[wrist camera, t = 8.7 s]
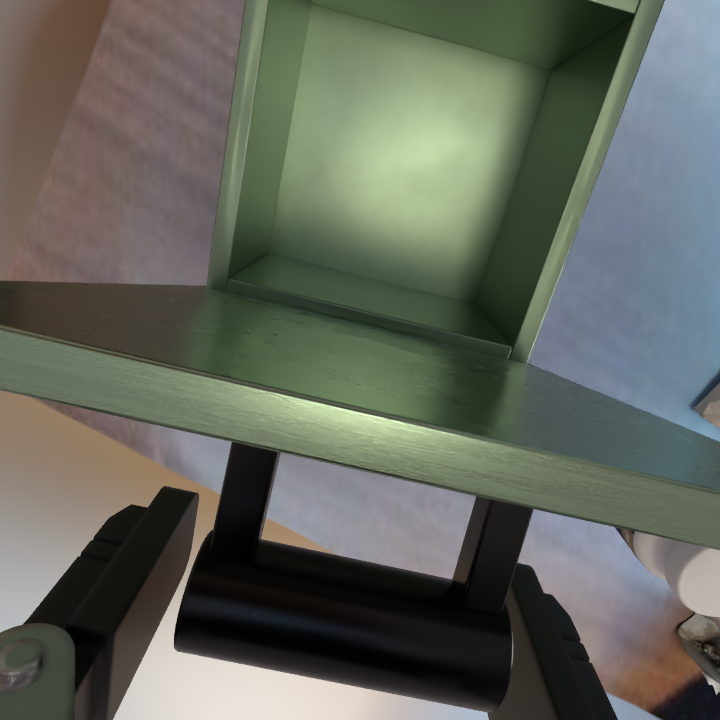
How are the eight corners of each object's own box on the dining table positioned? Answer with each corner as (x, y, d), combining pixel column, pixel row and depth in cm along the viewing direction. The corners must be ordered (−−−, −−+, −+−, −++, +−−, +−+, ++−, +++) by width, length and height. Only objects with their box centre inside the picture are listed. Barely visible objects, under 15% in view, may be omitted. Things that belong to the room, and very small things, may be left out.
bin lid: (-224, 273, 5) (-255, 698, 6) (993, 553, 6) (839, 897, 6) (203, 285, 19) (180, 403, 20) (530, 363, 20) (497, 474, 21)
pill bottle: (561, 475, 32) (640, 593, 23) (622, 409, 30) (733, 507, 21) (627, 515, 33) (728, 644, 24) (689, 453, 31) (824, 566, 22)
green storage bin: (300, -14, 23) (261, -126, 15) (566, 60, 24) (668, -7, 16) (254, 261, 28) (205, 292, 20) (480, 317, 29) (525, 368, 20)
